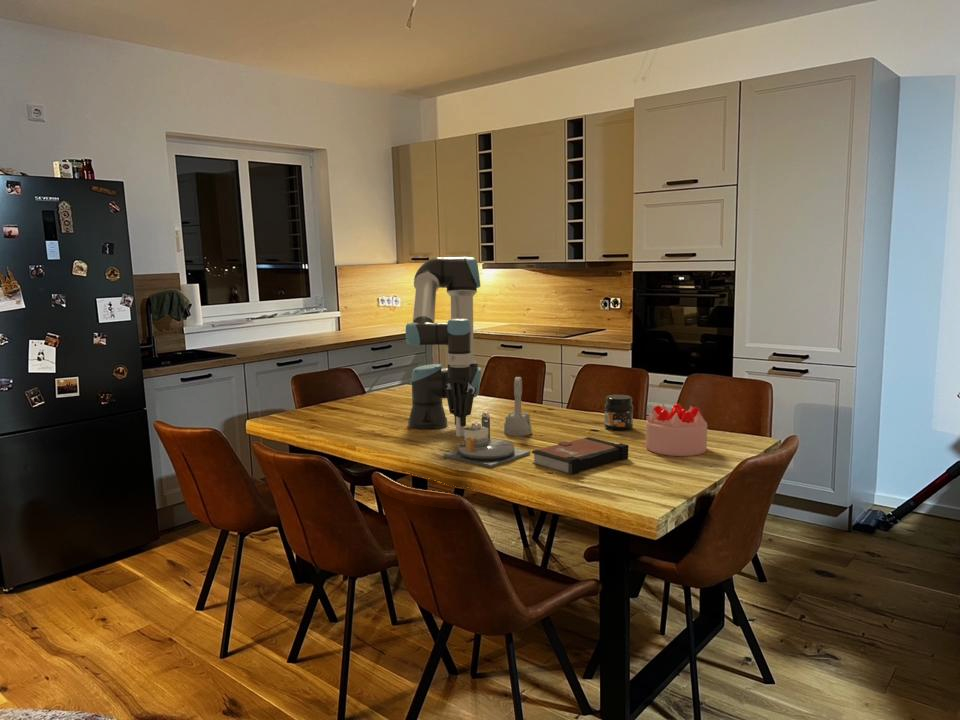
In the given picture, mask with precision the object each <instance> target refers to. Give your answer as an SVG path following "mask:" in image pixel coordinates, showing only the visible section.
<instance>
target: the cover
mask: <svg viewBox="0 0 960 720" xmlns="http://www.w3.org/2000/svg"><path fill="white" fill-rule="evenodd" d="M467 438H475V447H481V446H486V445H488V428H487V427H483V426H482V423H471V426H467V427H466V426H465V428H464V435H463V442H464V444H465V445H466V439H467Z"/></svg>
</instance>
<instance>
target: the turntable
mask: <svg viewBox="0 0 960 720" xmlns="http://www.w3.org/2000/svg"><path fill="white" fill-rule="evenodd" d="M514 448H515V444H514V443H513V442H510V441H508V440H503V439H498V438H490V439H488V445H486V446H481V447H475V438H467V439H466V445H465V444H464V441H463V442H461V443H460V444H459V445H458V449H459V453H460V454H461V455H462V456H464V457H468V458H473V459H499V458H505V457H508V456H511V455H513V454H514Z"/></svg>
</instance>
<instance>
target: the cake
mask: <svg viewBox="0 0 960 720" xmlns="http://www.w3.org/2000/svg"><path fill="white" fill-rule="evenodd" d="M702 415H703V414H702V412H701V409H700V408H699V407H697V406H695V407H693V406H692V405H690V406H689V409H688V410H687V409H685V408H683V407H682V405H681V404H680V403H675V404H673V406H672V407H671V410H670V411H669V410H668V409H667V408H666V405H665V404H663V403H662V407H661V406H660V405H655V406H654V407H653V408H652V409H651V413H649V415H648V417H647V420H646V421H645V423H646V424H645V447H646V449H647V450H648V451H649V452H651V453H655V454H659V455H662V456H663V455H664V456H668V457H669V456H670V457H691V456H692V457H693V456H694V457H695V456H699V455H703V454H705V452H706V451H707V443H708V442H707V441H708V423H707V421H706V420H705V418H704V417H703V416H702Z"/></svg>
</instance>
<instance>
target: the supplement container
mask: <svg viewBox="0 0 960 720" xmlns="http://www.w3.org/2000/svg"><path fill="white" fill-rule="evenodd" d="M632 397H633V396H631V395H628V394H627V395H626V394H609V395H607V396H606V397H605V402H606V403H605V404H604V427H605V429H607V430H608V431H609V430H610V431H614V432H625V431H630V430H631V429H632V428H633V427H634V424H633V422H634V420H633V416H634V415H633V414H634V406H633V404H632V403H633V398H632Z"/></svg>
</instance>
